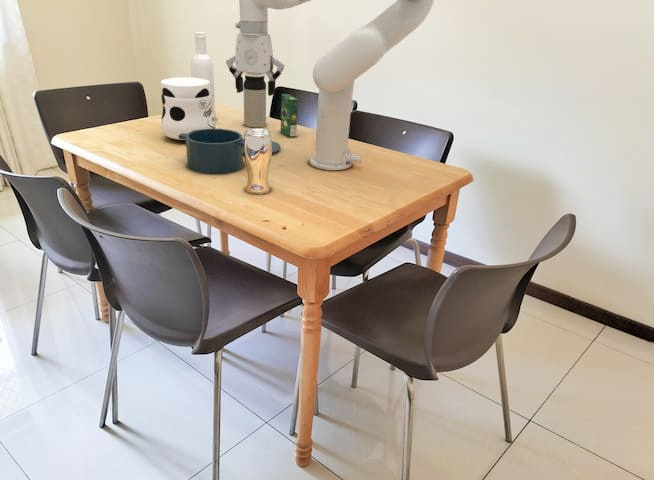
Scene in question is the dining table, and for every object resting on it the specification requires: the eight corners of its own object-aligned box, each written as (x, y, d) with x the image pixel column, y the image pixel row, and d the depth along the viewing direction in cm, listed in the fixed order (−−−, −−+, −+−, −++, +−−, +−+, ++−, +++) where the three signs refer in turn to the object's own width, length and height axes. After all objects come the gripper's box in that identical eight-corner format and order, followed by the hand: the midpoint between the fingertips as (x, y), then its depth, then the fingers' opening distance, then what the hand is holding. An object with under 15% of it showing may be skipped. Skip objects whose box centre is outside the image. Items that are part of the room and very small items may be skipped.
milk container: (226, 140, 169) (223, 84, 160) (178, 148, 158) (173, 88, 149) (199, 128, 180) (195, 75, 171) (153, 135, 169) (147, 79, 160)
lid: (239, 139, 171) (238, 121, 168) (286, 145, 167) (286, 126, 164) (219, 153, 157) (218, 133, 154) (270, 159, 153) (270, 139, 150)
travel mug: (262, 129, 183) (261, 76, 174) (241, 126, 185) (240, 74, 176) (268, 123, 190) (268, 73, 181) (248, 121, 192) (247, 71, 183)
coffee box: (297, 137, 176) (298, 98, 170) (289, 138, 175) (290, 98, 168) (287, 131, 182) (288, 93, 176) (280, 132, 181) (280, 93, 175)
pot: (194, 153, 155) (192, 125, 151) (259, 161, 151) (258, 133, 147) (169, 168, 142) (166, 138, 138) (239, 178, 138) (239, 147, 134)
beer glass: (272, 185, 135) (272, 128, 127) (271, 195, 129) (271, 136, 121) (245, 184, 134) (244, 127, 127) (243, 194, 128) (242, 135, 121)
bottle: (218, 117, 194) (214, 31, 179) (212, 122, 188) (207, 33, 173) (198, 116, 195) (192, 30, 180) (191, 121, 188) (184, 32, 173)
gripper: (219, 27, 138) (222, 93, 146) (279, 31, 134) (279, 98, 142) (230, 25, 144) (233, 88, 153) (288, 29, 140) (287, 93, 149)
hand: (255, 93), depth 147 cm, fingers open, 9 cm apart
